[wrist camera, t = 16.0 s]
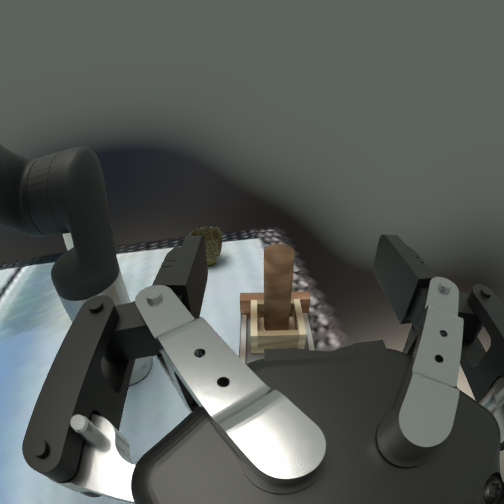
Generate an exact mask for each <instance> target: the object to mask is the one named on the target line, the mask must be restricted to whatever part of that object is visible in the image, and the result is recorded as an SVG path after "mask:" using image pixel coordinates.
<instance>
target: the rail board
mask: <svg viewBox="0 0 504 504" xmlns="http://www.w3.org/2000/svg"><path fill="white" fill-rule="evenodd" d="M291 299H300V303H301V308H302V313H303V318H304V324H305V329H306V334H307V335H306V340H305V346H304V349H307V350H314V351H315V349H314V344H313V339H312V334H311V329H310V325H309V320H308V311H309V304H310V296H309V292H292V293H291ZM251 300H264V293H240V311H241V327H240V347H239V358H240V359H241V360H242V361H243V362H244V363H245V364H248V363H250V362H252V361H255V360H258V359H262V358H264V353H251V339H250V329H251Z"/></svg>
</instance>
